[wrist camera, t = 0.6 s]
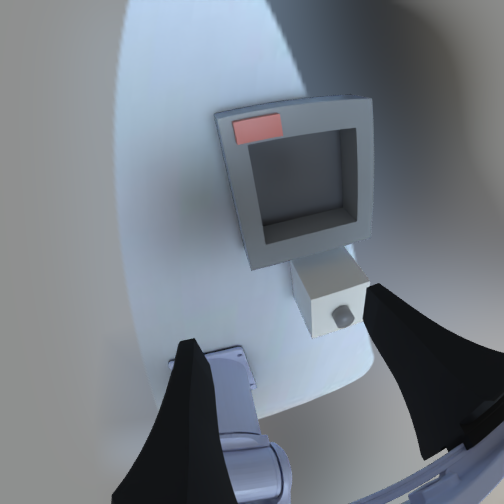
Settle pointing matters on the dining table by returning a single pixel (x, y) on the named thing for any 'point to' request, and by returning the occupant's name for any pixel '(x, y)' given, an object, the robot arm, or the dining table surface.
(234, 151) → the socket plate
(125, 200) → the dining table surface
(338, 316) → the plug
